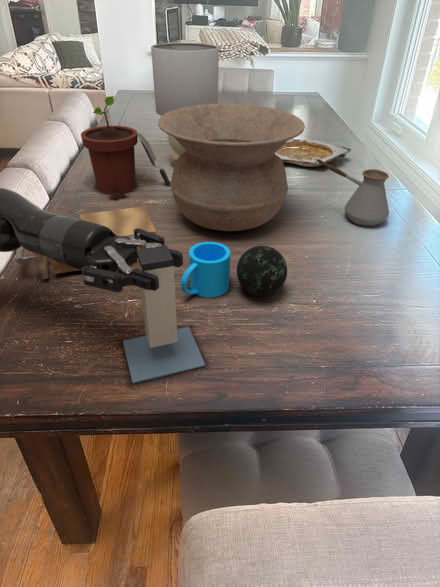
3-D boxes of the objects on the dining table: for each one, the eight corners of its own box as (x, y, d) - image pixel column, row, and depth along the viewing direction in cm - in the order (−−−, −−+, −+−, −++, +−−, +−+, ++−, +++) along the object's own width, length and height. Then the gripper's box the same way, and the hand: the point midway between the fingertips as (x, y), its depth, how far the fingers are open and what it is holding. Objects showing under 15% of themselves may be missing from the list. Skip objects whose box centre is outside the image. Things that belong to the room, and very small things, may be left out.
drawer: (20, 282, 84) (11, 254, 80) (22, 254, 93) (13, 227, 89) (108, 268, 89) (104, 241, 85) (102, 243, 98) (98, 216, 94)
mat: (132, 384, 65) (132, 382, 65) (123, 342, 72) (122, 340, 72) (205, 366, 68) (205, 364, 68) (189, 328, 76) (188, 326, 75)
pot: (170, 191, 125) (165, 102, 110) (282, 193, 125) (293, 104, 110) (157, 249, 97) (148, 141, 82) (301, 251, 98) (318, 144, 83)
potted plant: (115, 172, 136) (104, 89, 121) (171, 184, 129) (166, 97, 114) (78, 191, 123) (60, 100, 108) (138, 206, 116) (127, 111, 101)
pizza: (344, 176, 137) (351, 153, 154) (346, 164, 134) (353, 142, 151) (251, 165, 146) (268, 145, 163) (251, 153, 143) (268, 134, 160)
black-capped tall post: (150, 348, 66) (141, 264, 56) (145, 331, 69) (136, 249, 59) (177, 342, 67) (173, 259, 58) (171, 326, 70) (166, 245, 61)
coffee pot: (385, 213, 115) (400, 160, 106) (386, 232, 106) (403, 176, 97) (308, 203, 120) (316, 151, 111) (303, 220, 111) (312, 165, 102)
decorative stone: (281, 277, 89) (287, 237, 83) (286, 307, 81) (293, 264, 75) (235, 276, 89) (237, 235, 83) (235, 305, 81) (238, 262, 75)
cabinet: (91, 276, 88) (84, 241, 83) (86, 247, 98) (79, 214, 92) (158, 265, 92) (156, 231, 87) (147, 238, 102) (144, 206, 96)
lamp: (147, 166, 141) (136, 46, 120) (181, 150, 155) (177, 40, 134) (195, 178, 133) (193, 52, 112) (227, 161, 147) (231, 46, 125)
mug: (208, 270, 91) (208, 237, 86) (236, 284, 87) (238, 251, 82) (168, 294, 84) (165, 260, 79) (197, 311, 79) (196, 276, 74)
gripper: (109, 243, 72) (194, 268, 66) (49, 287, 62) (143, 321, 56) (103, 203, 67) (194, 227, 62) (37, 243, 57) (138, 275, 51)
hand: (169, 271), depth 59 cm, fingers closed on black-capped tall post, 6 cm apart
